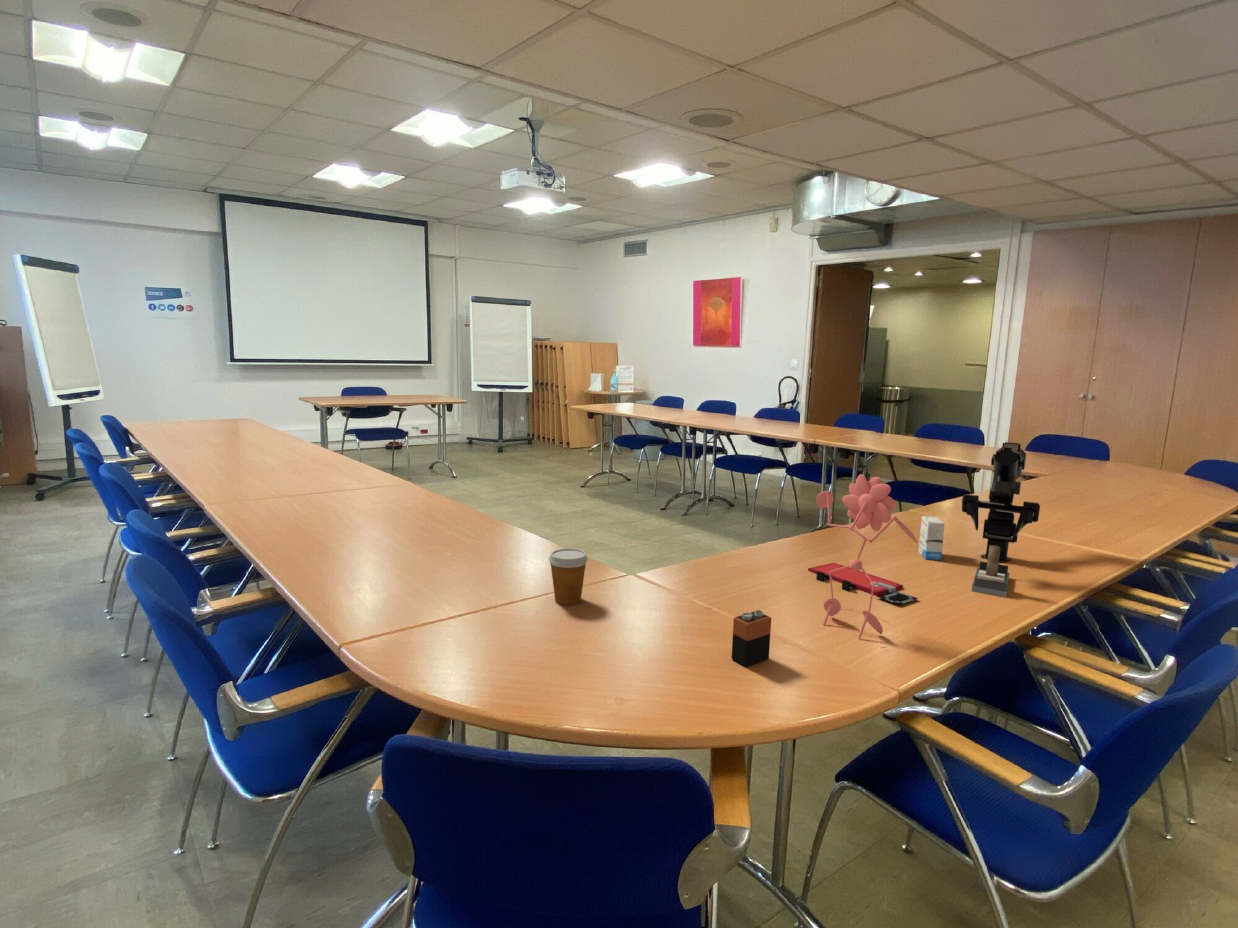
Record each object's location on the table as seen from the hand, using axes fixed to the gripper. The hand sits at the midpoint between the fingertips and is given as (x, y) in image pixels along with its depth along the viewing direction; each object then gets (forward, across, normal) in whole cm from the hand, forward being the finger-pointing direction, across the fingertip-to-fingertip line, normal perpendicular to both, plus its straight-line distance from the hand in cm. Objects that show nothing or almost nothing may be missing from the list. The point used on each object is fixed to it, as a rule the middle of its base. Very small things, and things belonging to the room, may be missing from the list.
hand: (995, 532), depth 179 cm
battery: (+70, -37, -47) cm, 92 cm away
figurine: (+48, -23, -26) cm, 59 cm away
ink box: (-1, -18, +21) cm, 27 cm away
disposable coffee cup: (+68, -86, -45) cm, 118 cm away
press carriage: (+14, 0, +3) cm, 15 cm away
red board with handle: (+28, -29, -6) cm, 41 cm away
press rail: (+12, 0, +8) cm, 14 cm away
